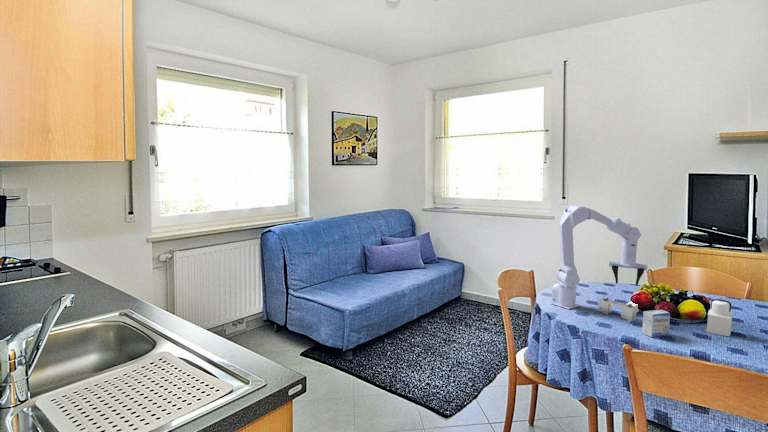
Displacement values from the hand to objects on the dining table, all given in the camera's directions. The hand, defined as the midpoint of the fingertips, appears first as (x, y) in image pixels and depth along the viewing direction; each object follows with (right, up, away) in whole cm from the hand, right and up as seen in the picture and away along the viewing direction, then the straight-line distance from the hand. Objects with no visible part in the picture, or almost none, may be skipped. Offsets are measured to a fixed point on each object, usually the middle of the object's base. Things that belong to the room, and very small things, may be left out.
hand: (626, 284), depth 199 cm
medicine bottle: (+18, -14, -29) cm, 37 cm away
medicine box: (-6, -14, -32) cm, 35 cm away
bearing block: (-10, -11, -12) cm, 19 cm away
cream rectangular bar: (0, -11, -6) cm, 12 cm away
